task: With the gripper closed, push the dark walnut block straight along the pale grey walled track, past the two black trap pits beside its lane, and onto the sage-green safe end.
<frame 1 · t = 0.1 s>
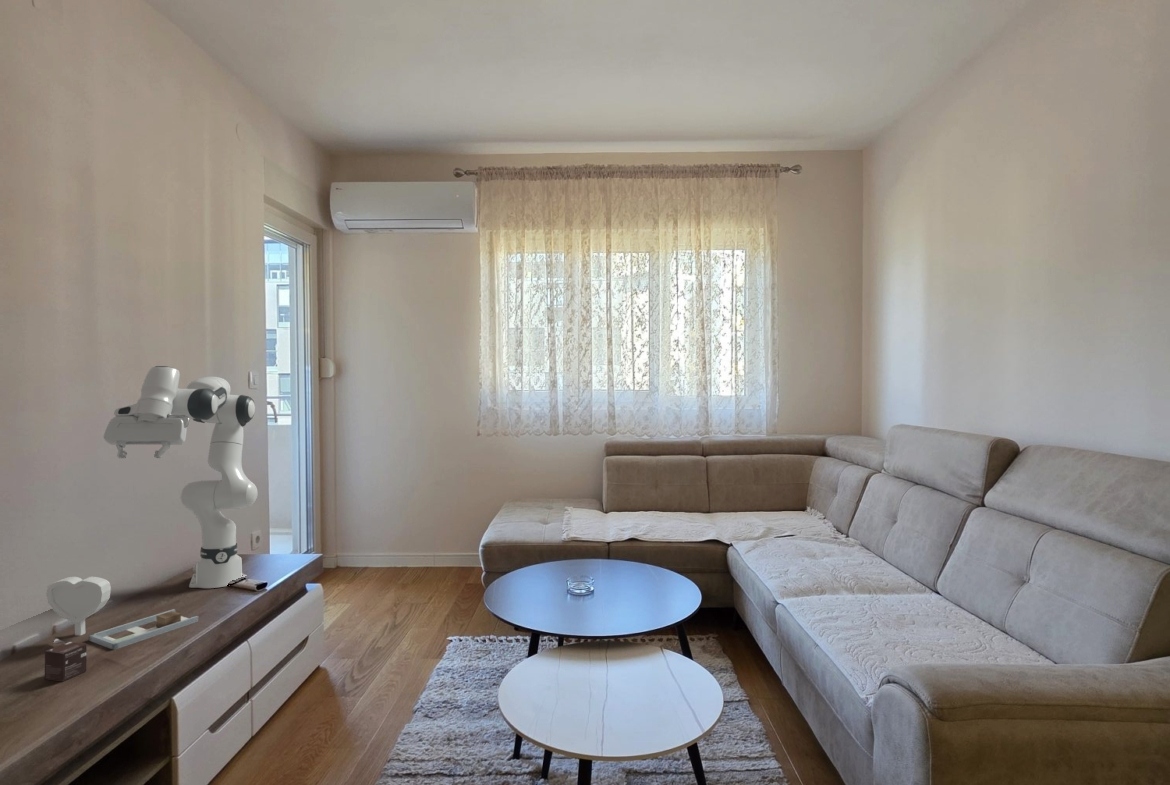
hand: (139, 457, 171), 54 cm above the table, tool tilted 30°, fingers open, 8 cm apart
walnut block: (168, 626, 182), point 1 cm above the table, touching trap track
box: (65, 676, 154), on the table
heart sculpture: (80, 639, 175), on the table
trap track: (147, 634, 179), on the table
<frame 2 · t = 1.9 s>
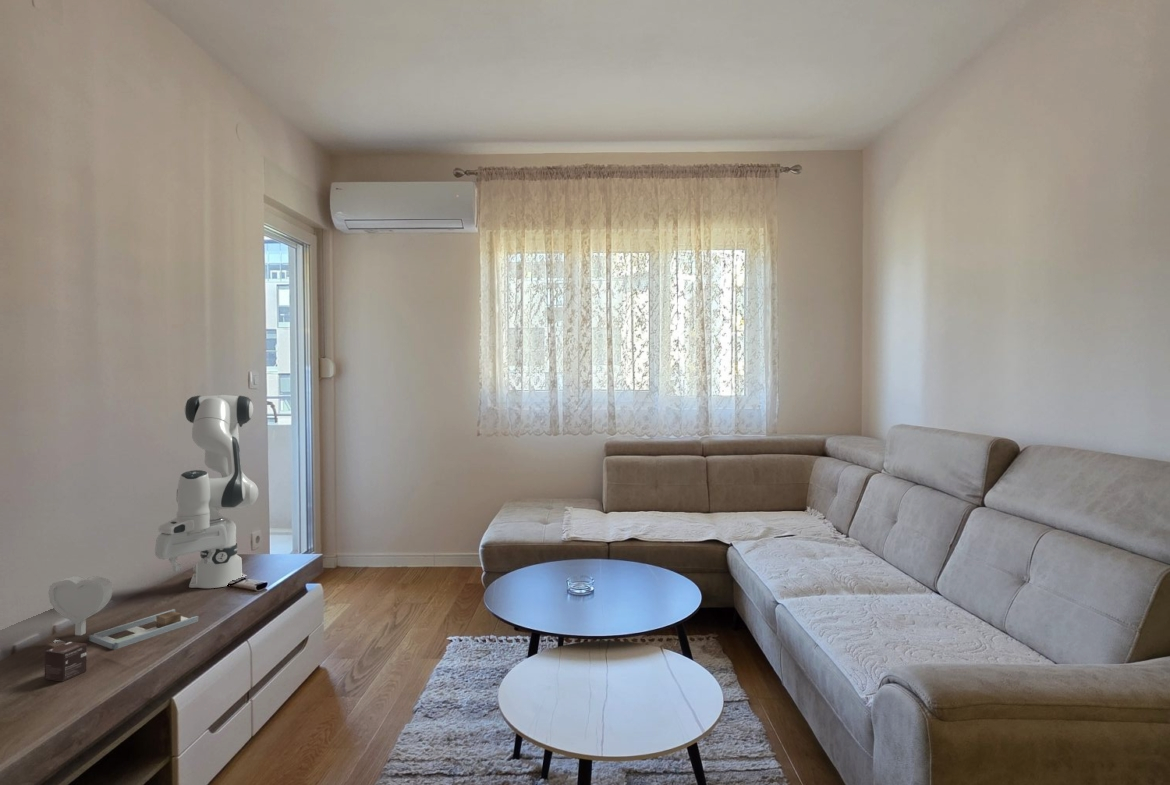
hand: (192, 566, 188), 18 cm above the table, tool pointing down, fingers open, 8 cm apart
nothing on the table moved.
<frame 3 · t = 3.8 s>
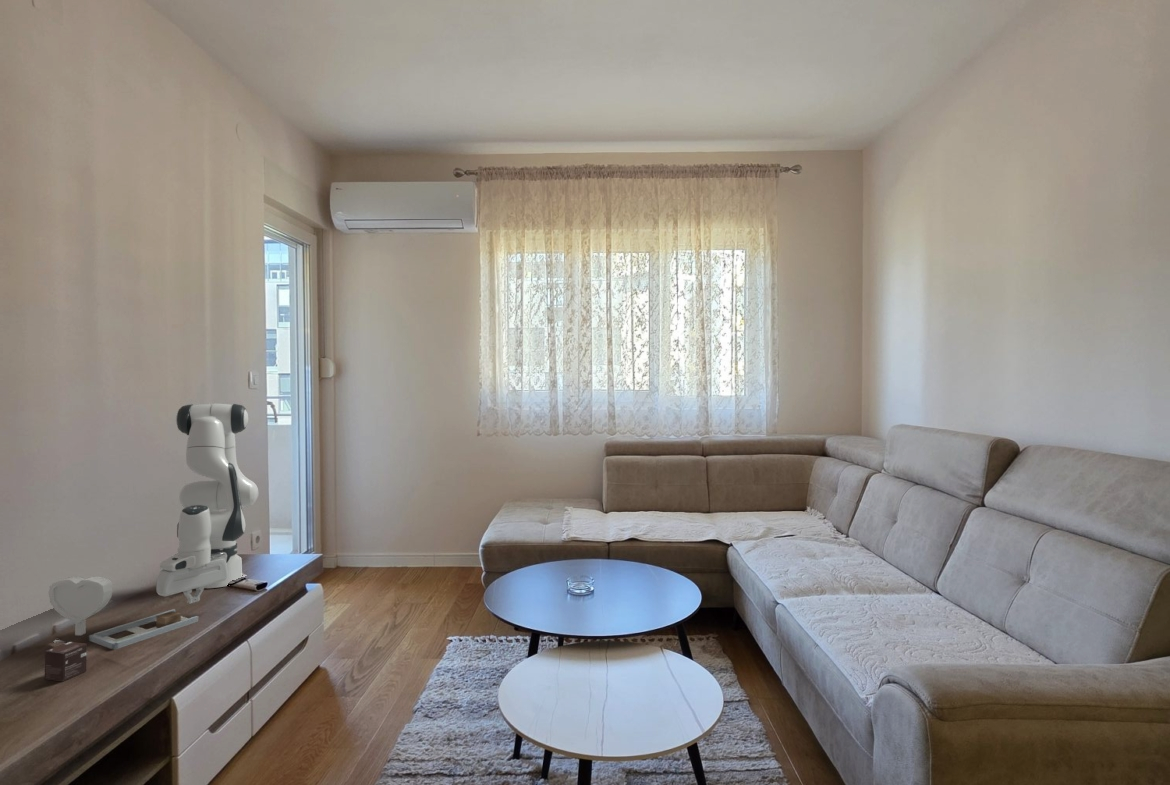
hand: (193, 602, 188), 7 cm above the table, tool pointing down, fingers closed
nothing on the table moved.
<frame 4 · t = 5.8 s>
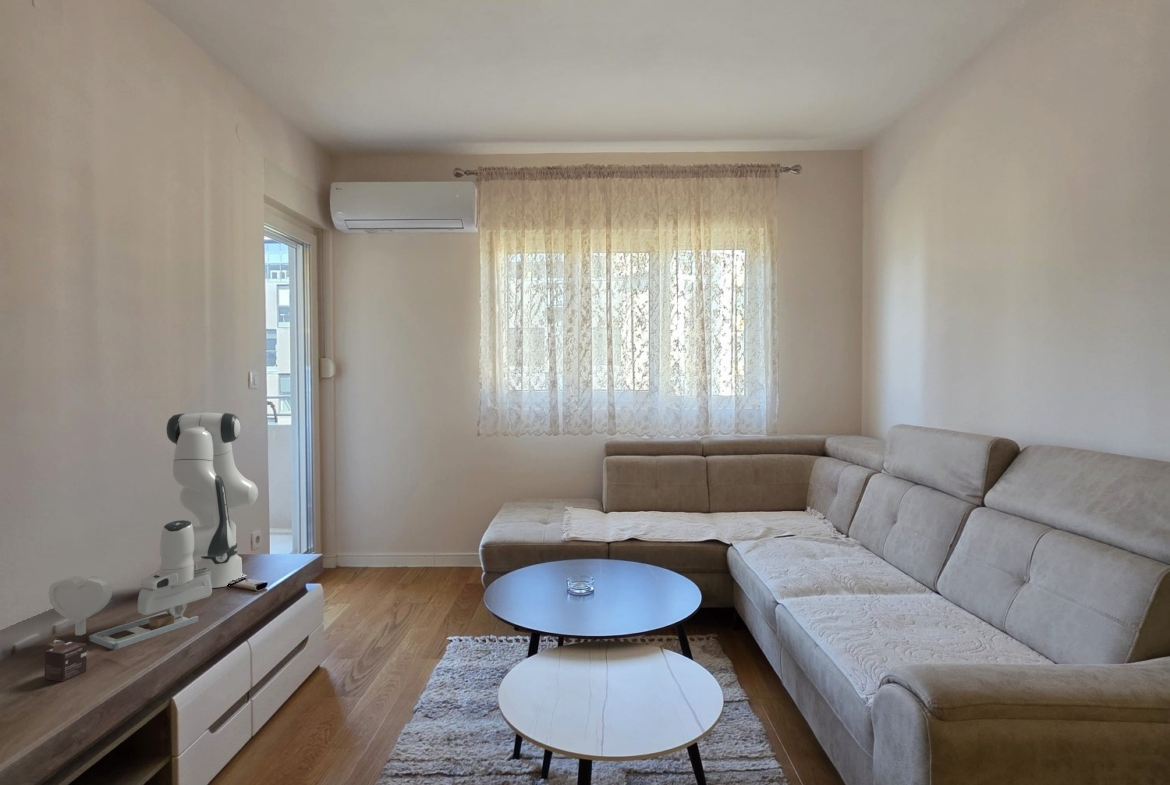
hand: (176, 619, 184), 3 cm above the table, tool pointing down, fingers closed
walnut block: (161, 628, 180), point 1 cm above the table, touching gripper, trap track
everything else where it was.
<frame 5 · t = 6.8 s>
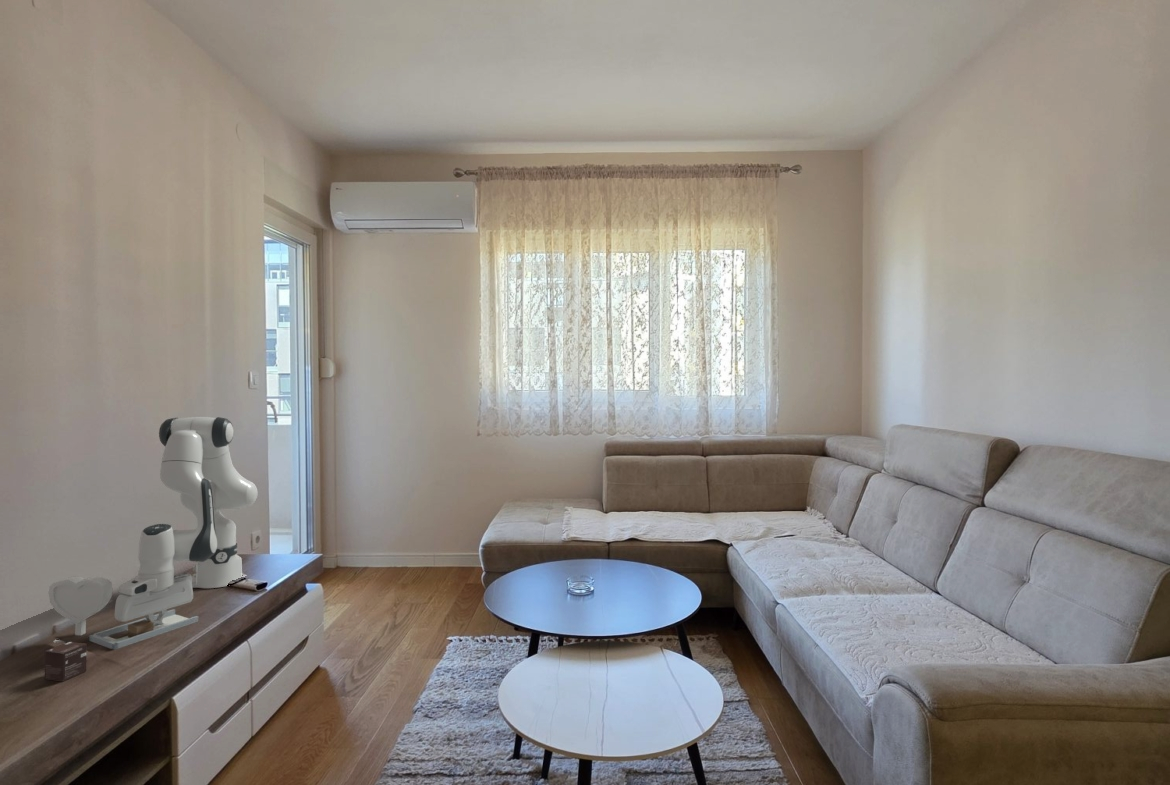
hand: (155, 626, 178), 3 cm above the table, tool pointing down, fingers closed
walnut block: (140, 635, 175), point 1 cm above the table, touching gripper, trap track
everything else where it was.
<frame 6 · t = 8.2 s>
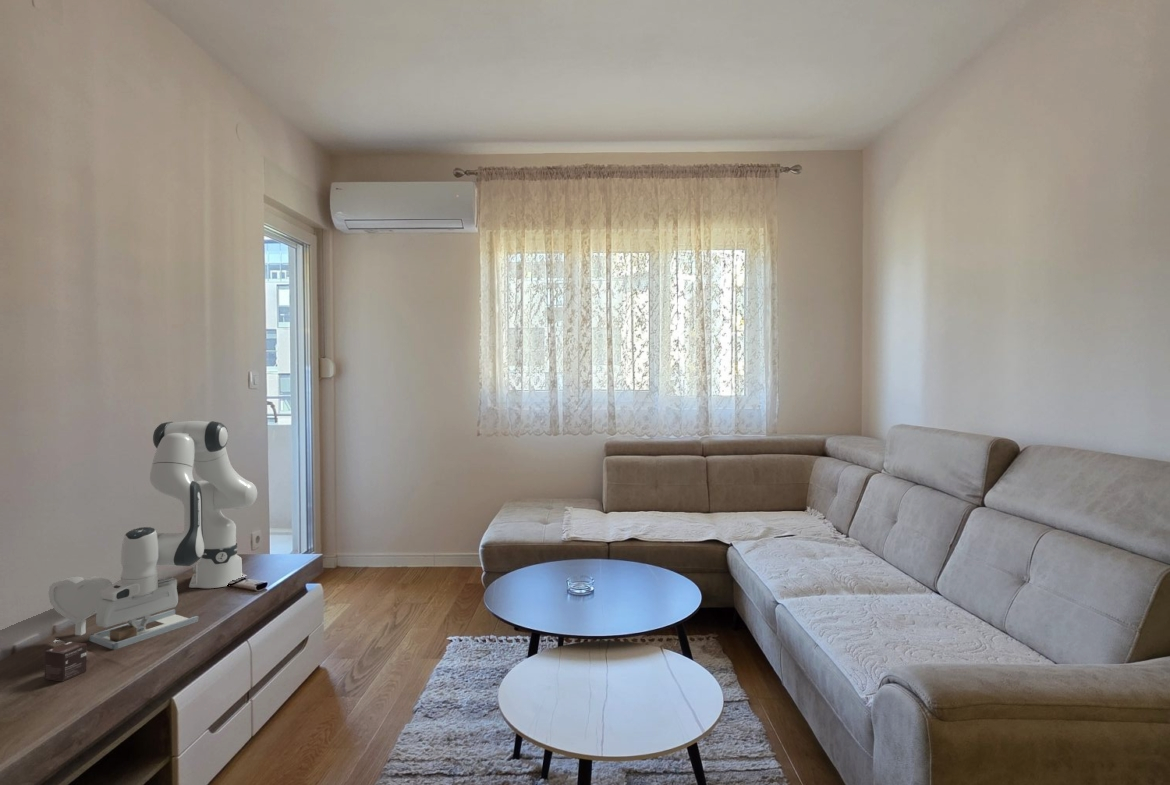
hand: (138, 632, 174), 3 cm above the table, tool pointing down, fingers closed
walnut block: (123, 641, 171), point 1 cm above the table, touching gripper, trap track
everything else where it was.
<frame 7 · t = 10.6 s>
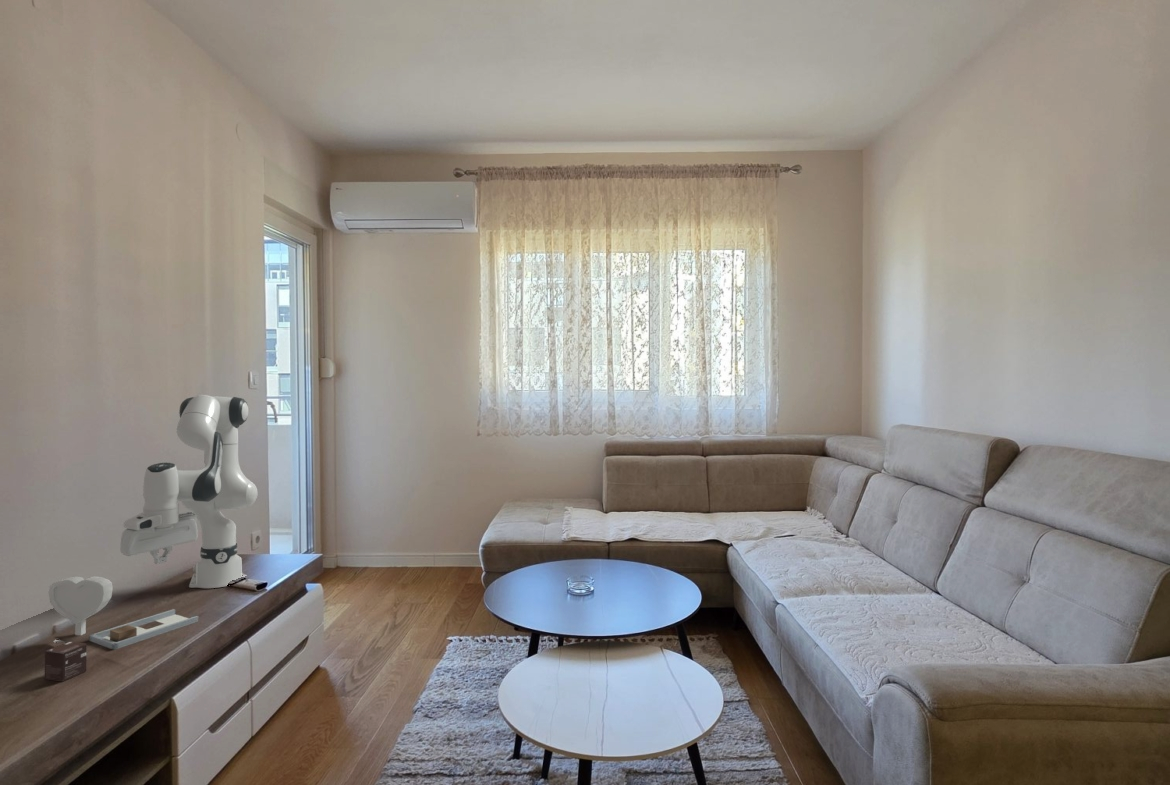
hand: (161, 562, 180), 21 cm above the table, tool pointing down, fingers closed
walnut block: (123, 641, 171), point 1 cm above the table, touching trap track
everything else where it was.
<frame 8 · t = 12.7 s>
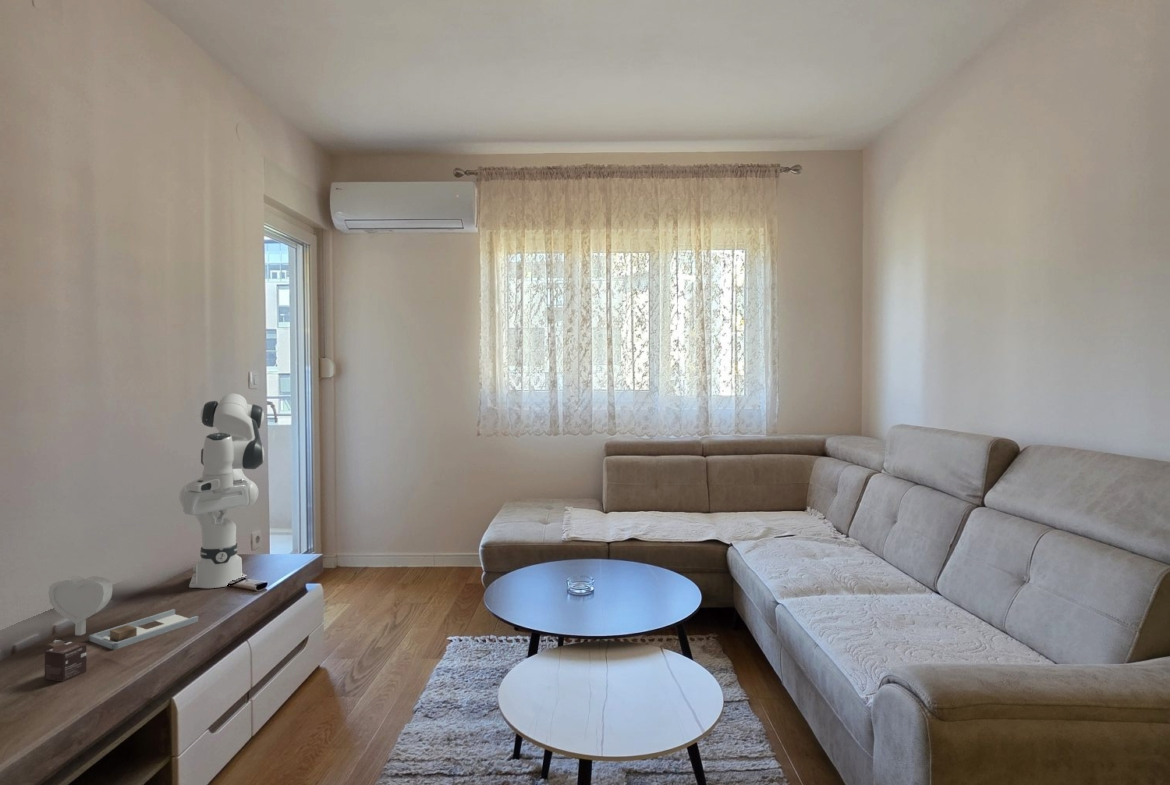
hand: (217, 523, 198), 29 cm above the table, tool pointing down, fingers closed
nothing on the table moved.
at the end: walnut block 0.4 cm from the target spot, point 1.5 cm above the table; walnut block tilted 0° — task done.
